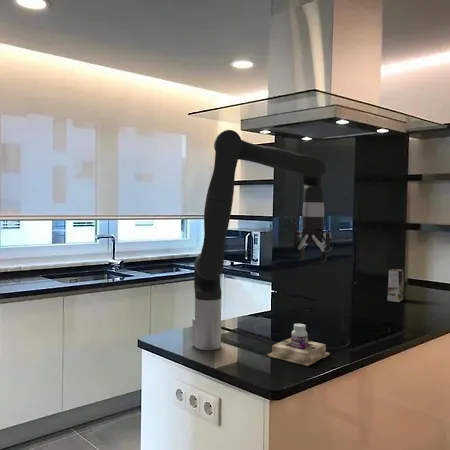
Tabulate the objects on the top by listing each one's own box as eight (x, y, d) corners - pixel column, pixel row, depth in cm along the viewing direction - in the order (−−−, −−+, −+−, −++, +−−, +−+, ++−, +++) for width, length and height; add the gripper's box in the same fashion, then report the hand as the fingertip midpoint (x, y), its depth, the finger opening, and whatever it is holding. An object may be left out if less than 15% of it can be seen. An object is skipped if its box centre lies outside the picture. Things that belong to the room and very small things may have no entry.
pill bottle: (289, 354, 163) (289, 325, 162) (292, 350, 168) (293, 322, 167) (305, 356, 161) (305, 327, 160) (308, 352, 166) (309, 323, 165)
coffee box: (400, 302, 255) (401, 271, 254) (387, 300, 258) (388, 270, 257) (403, 299, 263) (404, 269, 262) (391, 298, 266) (392, 268, 265)
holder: (267, 356, 163) (267, 344, 163) (291, 346, 175) (291, 335, 175) (307, 366, 154) (307, 354, 153) (329, 354, 165) (330, 343, 165)
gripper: (336, 215, 172) (335, 262, 173) (301, 214, 181) (300, 258, 182) (326, 216, 166) (325, 264, 167) (290, 215, 175) (289, 260, 176)
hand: (312, 261), depth 174 cm, fingers open, 8 cm apart
